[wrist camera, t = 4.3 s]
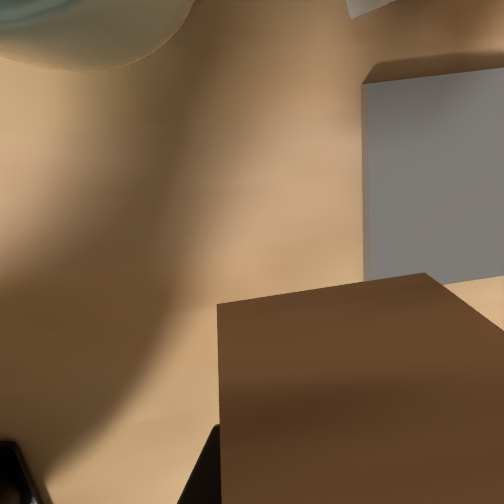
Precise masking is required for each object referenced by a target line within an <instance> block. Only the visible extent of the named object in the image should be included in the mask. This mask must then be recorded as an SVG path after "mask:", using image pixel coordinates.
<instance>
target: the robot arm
mask: <svg viewBox="0 0 504 504" xmlns="http://www.w3.org/2000/svg"><path fill="white" fill-rule="evenodd" d="M6 450H7V451H6ZM0 504H43V503H42V501H41V499H40V496H39V494H38V492H37V489H36V487H35V485H34V482H33V480H32V478H31V475H30V473H29V471H28V468H27V466H26V463H25V461H24V459H23V456H22V454H21V452H20V449H19V447H18V445H17V444H16V443H15V442H13V441H1V442H0ZM177 504H222V493H221V453H220V424H217V425H215V426H214V427H213V429H212V430H211V433H210V435H209V437H208V439H207V441H206V443H205V445H204V447H203V449H202V452H201V454H200V456H199V458H198V460H197V462H196V464H195V466H194V469H193V471H192V473H191V475H190V477H189V479H188V481H187V483H186V485H185V488H184V490H183V492H182V494H181V496H180V498H179V500H178V502H177Z"/></svg>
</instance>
